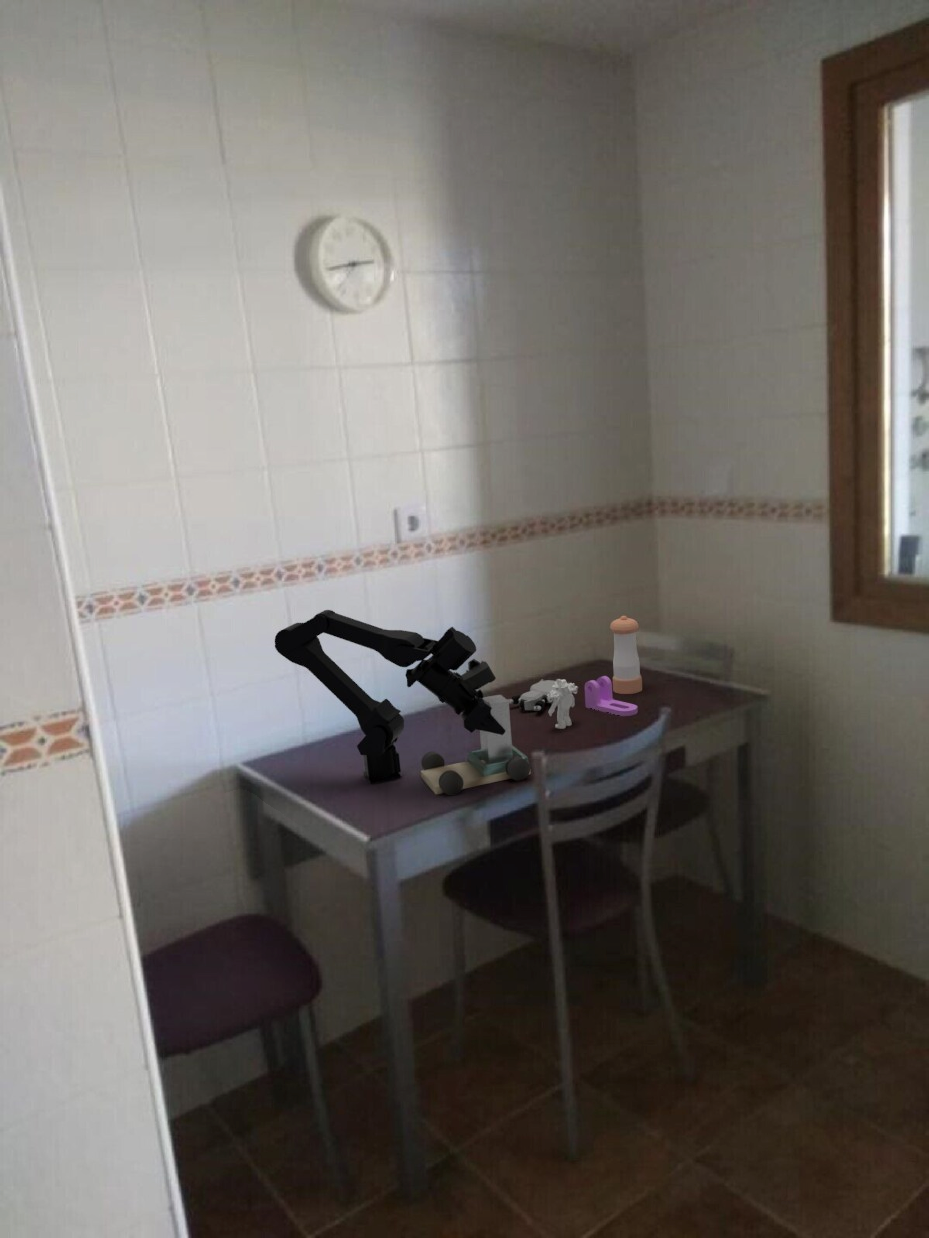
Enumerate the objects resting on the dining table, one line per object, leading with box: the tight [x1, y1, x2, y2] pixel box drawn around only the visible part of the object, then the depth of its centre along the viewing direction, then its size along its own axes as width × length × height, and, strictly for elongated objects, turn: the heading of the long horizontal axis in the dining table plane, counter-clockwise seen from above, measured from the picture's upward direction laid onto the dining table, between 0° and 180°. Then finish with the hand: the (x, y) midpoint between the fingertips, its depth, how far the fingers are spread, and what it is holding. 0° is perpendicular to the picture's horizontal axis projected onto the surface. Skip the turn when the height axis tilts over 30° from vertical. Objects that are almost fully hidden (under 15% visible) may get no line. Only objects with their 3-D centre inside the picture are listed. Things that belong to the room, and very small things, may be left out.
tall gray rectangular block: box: [479, 694, 513, 765], centre depth 192 cm, size 5×5×13 cm
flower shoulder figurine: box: [547, 678, 579, 730], centre depth 217 cm, size 9×4×12 cm, turn 134°
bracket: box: [584, 675, 638, 717], centre depth 226 cm, size 13×6×7 cm, turn 39°
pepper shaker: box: [609, 615, 643, 695], centre depth 238 cm, size 7×7×19 cm
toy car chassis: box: [420, 744, 531, 796], centre depth 192 cm, size 20×14×4 cm
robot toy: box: [507, 678, 579, 712], centre depth 234 cm, size 12×4×15 cm
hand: (501, 728), depth 193 cm, fingers closed on tall gray rectangular block, 5 cm apart
